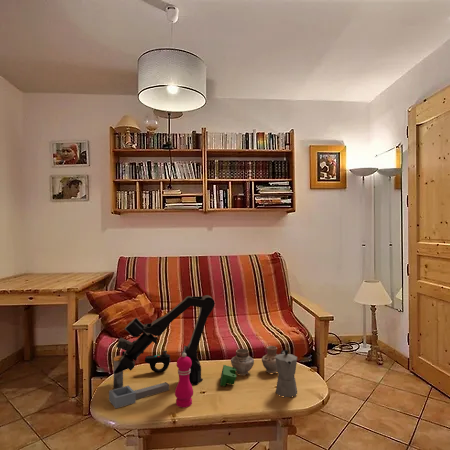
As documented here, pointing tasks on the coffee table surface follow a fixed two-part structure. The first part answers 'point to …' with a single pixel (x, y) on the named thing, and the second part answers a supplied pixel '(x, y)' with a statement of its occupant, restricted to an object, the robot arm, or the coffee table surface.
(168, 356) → the controller
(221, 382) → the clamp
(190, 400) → the pepper mill
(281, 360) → the coffeepot
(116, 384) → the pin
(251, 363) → the pottery
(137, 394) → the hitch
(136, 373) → the coffee table surface
